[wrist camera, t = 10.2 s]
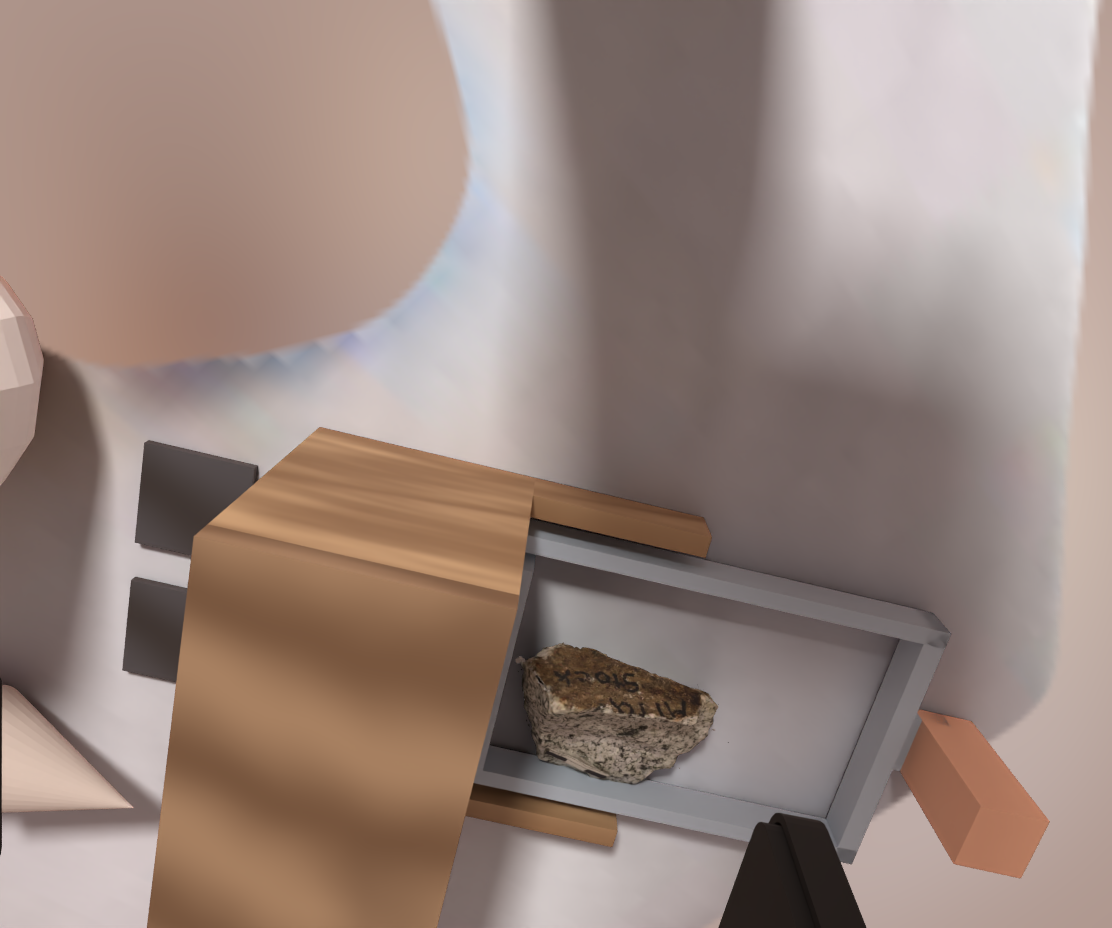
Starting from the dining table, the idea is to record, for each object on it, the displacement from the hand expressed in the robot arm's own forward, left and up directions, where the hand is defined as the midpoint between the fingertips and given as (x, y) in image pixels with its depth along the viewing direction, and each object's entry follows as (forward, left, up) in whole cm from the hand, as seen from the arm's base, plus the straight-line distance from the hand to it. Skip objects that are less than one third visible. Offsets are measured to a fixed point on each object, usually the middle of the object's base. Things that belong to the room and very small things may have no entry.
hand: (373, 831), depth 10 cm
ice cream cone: (+23, -20, -28) cm, 41 cm away
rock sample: (+15, +9, -28) cm, 33 cm away
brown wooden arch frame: (+13, -3, -28) cm, 31 cm away
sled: (+13, +14, -27) cm, 33 cm away
